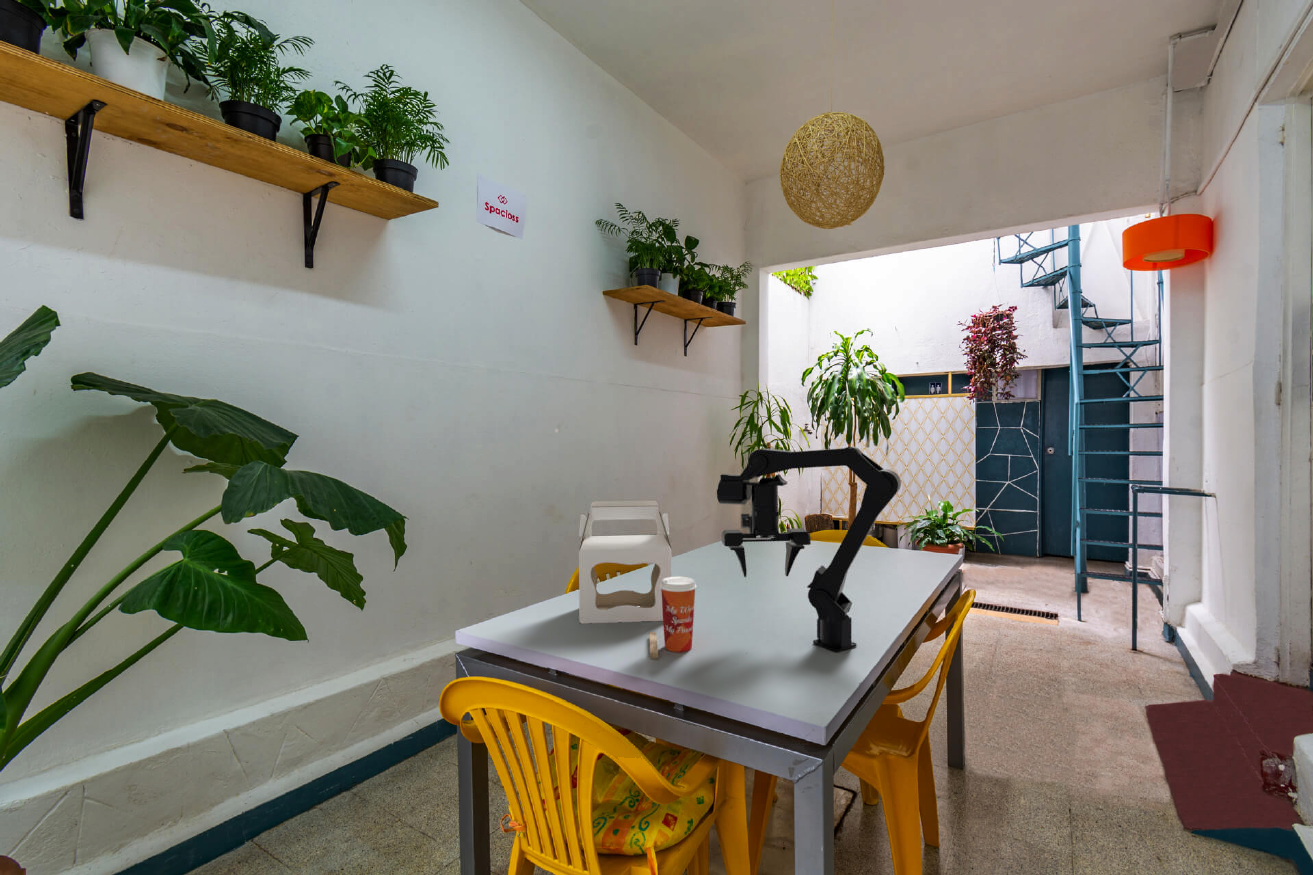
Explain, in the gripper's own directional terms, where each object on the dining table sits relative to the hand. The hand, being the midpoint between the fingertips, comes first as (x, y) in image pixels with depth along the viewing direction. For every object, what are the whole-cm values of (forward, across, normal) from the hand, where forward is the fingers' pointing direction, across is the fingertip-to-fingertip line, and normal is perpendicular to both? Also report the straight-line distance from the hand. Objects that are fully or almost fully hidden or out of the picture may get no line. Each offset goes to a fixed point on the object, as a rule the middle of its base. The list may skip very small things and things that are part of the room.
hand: (765, 576), depth 132 cm
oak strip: (+13, +25, +7) cm, 29 cm away
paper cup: (+13, +20, +7) cm, 25 cm away
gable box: (+13, +32, -16) cm, 38 cm away
